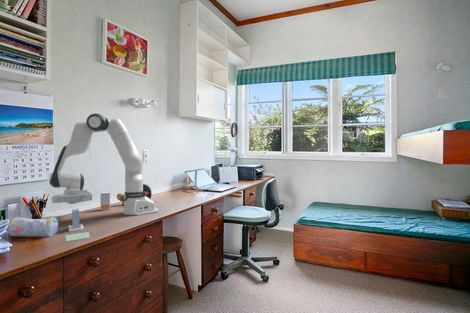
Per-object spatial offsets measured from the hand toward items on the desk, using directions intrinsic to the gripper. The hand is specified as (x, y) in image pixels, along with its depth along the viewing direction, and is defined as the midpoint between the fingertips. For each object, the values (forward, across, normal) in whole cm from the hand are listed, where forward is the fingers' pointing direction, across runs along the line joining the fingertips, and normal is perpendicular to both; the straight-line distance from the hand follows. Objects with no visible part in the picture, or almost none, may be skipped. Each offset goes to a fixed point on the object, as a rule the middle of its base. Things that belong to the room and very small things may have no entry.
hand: (73, 200), depth 159 cm
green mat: (+27, +1, +14) cm, 31 cm away
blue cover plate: (+12, +1, +13) cm, 18 cm away
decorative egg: (-36, +48, +13) cm, 61 cm away
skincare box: (-31, +21, +14) cm, 39 cm away
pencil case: (+13, -17, +14) cm, 26 cm away
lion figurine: (-38, +36, +13) cm, 55 cm away
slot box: (+12, +1, +14) cm, 18 cm away
